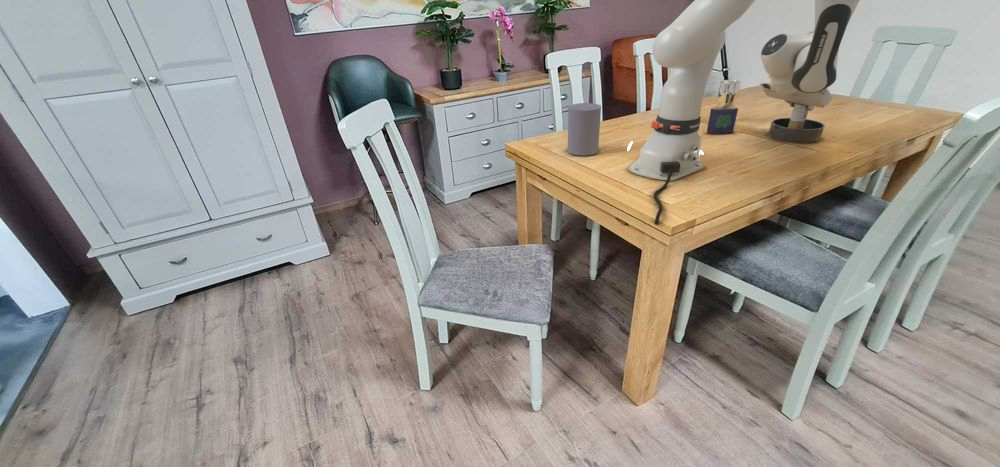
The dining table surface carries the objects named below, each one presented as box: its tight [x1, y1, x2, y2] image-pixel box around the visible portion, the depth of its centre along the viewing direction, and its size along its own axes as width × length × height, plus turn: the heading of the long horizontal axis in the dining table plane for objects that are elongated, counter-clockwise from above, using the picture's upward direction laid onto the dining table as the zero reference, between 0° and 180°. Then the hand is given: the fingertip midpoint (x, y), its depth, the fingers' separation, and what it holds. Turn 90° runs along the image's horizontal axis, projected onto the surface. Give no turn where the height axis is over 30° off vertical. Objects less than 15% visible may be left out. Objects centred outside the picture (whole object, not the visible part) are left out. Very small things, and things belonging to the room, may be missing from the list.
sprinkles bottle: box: [787, 102, 809, 129], centre depth 138 cm, size 5×5×13 cm
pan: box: [768, 117, 826, 144], centre depth 141 cm, size 15×15×4 cm
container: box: [566, 102, 602, 157], centre depth 137 cm, size 10×10×15 cm
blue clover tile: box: [706, 103, 739, 135], centre depth 147 cm, size 9×3×11 cm, turn 88°
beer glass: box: [716, 79, 742, 108], centre depth 159 cm, size 7×7×15 cm
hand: (802, 107), depth 137 cm, fingers closed on sprinkles bottle, 4 cm apart
